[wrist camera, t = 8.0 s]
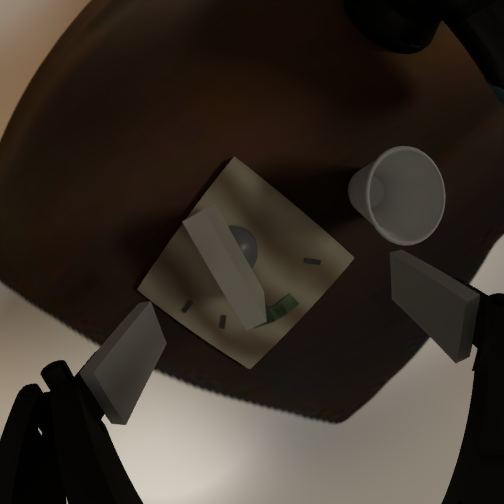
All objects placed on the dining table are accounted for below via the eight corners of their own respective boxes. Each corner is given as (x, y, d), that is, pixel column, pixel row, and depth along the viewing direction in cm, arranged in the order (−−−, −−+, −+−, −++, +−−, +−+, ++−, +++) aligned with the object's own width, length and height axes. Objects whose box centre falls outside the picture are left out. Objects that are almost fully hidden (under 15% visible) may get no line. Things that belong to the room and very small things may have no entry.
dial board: (234, 157, 34) (234, 156, 32) (351, 255, 37) (355, 258, 35) (140, 286, 38) (136, 290, 36) (249, 364, 41) (249, 370, 39)
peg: (189, 218, 34) (164, 231, 25) (231, 194, 34) (222, 199, 24) (247, 319, 38) (246, 362, 28) (288, 300, 37) (298, 339, 27)
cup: (355, 241, 36) (391, 264, 26) (319, 177, 34) (346, 175, 24) (409, 205, 35) (457, 214, 24) (377, 142, 33) (420, 130, 22)
